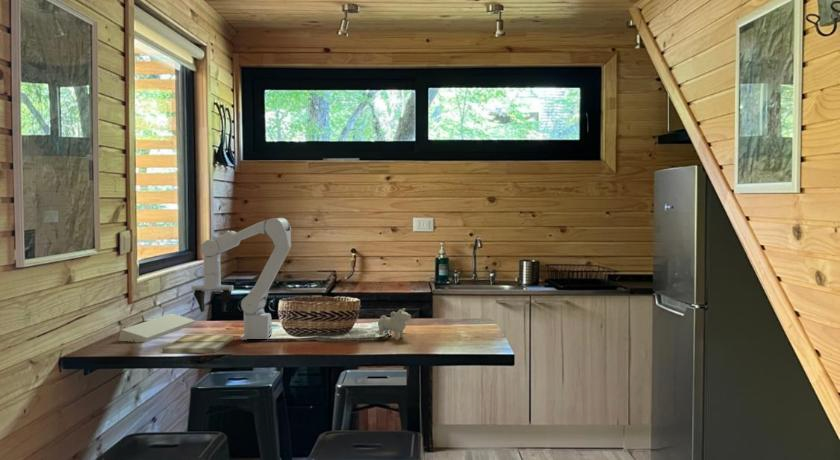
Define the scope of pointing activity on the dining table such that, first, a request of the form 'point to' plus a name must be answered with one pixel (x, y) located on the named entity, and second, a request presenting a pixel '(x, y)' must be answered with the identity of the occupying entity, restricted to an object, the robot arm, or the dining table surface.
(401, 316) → the grey animal figure
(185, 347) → the laminate section
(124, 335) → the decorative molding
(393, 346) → the dining table surface
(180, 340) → the oak plank
